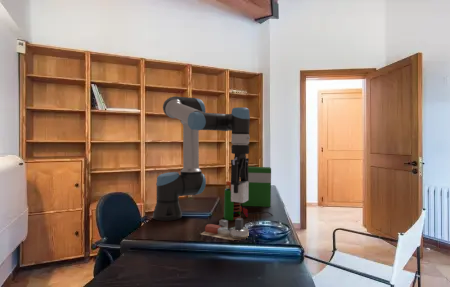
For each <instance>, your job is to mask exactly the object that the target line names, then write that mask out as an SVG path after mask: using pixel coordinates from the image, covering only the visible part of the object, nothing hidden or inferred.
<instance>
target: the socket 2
mask: <svg viewBox="0 0 450 287" xmlns="http://www.w3.org/2000/svg"><path fill="white" fill-rule="evenodd" d="M239 185H240V201H234V200H233V186H234V185H231V202H240V203H241V204H242V203H244V202H246V201H248V194H249V182H245V181H241V180H240V182H239Z"/></svg>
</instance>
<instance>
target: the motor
mask: <svg viewBox="0 0 450 287" xmlns="http://www.w3.org/2000/svg"><path fill="white" fill-rule="evenodd" d="M225 186H229V188H228V187H227V188H225V189H224V194H223V196H224V197H223V202H224V203H223V220H228V221H235V219H237V218H242V217H241V216H242V215H241V213H240V210H241V207H242V203H240V202H231V180H227V181H226V182H225Z"/></svg>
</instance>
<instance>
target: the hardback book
mask: <svg viewBox="0 0 450 287" xmlns="http://www.w3.org/2000/svg"><path fill="white" fill-rule="evenodd" d="M248 182H249V194H248V201H246V202H244V203H241V207H242V206H243V207H268V208H271V204H272V203H271V202H272V201H271V200H272V199H271V196H272V189H271V188H272V168H271V167H270V166H267V167H266V166H248Z"/></svg>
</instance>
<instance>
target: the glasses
mask: <svg viewBox="0 0 450 287" xmlns="http://www.w3.org/2000/svg"><path fill="white" fill-rule="evenodd" d="M249 208H253V206H242V205H241V210H240V214H241V213H243V215H244V216H245V217H246V218H248V216H249V215H253V214H257V212H250V213H249V210H248V209H249ZM256 208H257V209H259V210H260V211H261V212H259V214H269V215H271V216H274V215H273V214H272V213H271V212H268V211H262V209H261V208H260V207H259V206H256Z"/></svg>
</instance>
